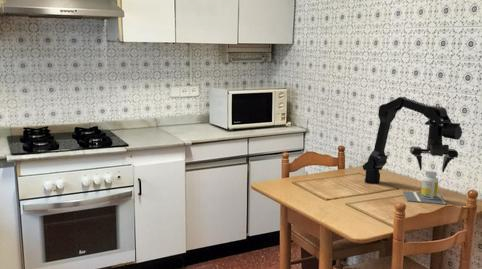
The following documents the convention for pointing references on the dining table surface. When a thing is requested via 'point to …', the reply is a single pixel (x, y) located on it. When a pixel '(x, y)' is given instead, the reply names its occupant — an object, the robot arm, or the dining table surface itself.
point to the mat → (418, 198)
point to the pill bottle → (429, 185)
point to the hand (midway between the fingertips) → (431, 171)
